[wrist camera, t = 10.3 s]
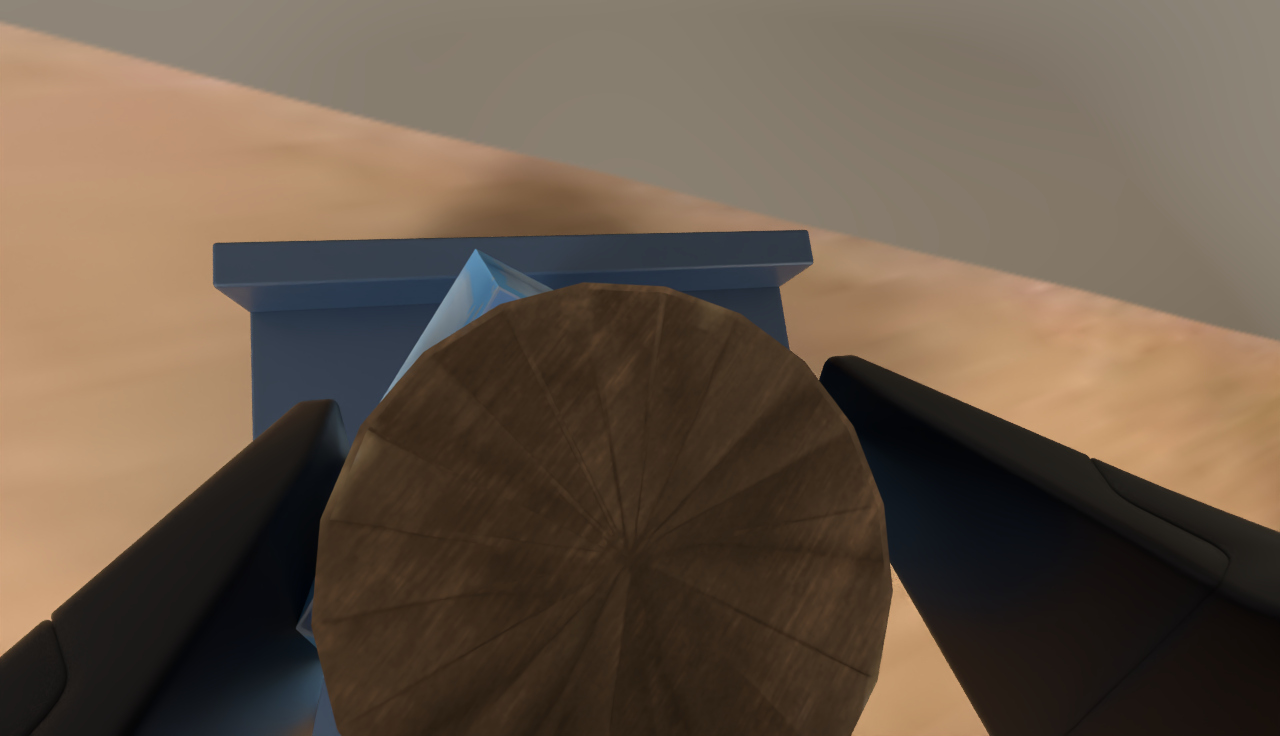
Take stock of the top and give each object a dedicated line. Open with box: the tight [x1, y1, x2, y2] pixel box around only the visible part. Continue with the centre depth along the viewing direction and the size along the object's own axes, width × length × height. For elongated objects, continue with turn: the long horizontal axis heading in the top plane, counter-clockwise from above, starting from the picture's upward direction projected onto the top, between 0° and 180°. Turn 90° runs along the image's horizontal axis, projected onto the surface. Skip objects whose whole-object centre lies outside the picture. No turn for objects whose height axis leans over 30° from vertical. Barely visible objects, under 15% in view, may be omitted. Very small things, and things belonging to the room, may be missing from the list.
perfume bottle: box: [296, 249, 893, 736], centre depth 9 cm, size 6×6×12 cm
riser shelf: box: [213, 230, 813, 736], centre depth 16 cm, size 11×14×6 cm
